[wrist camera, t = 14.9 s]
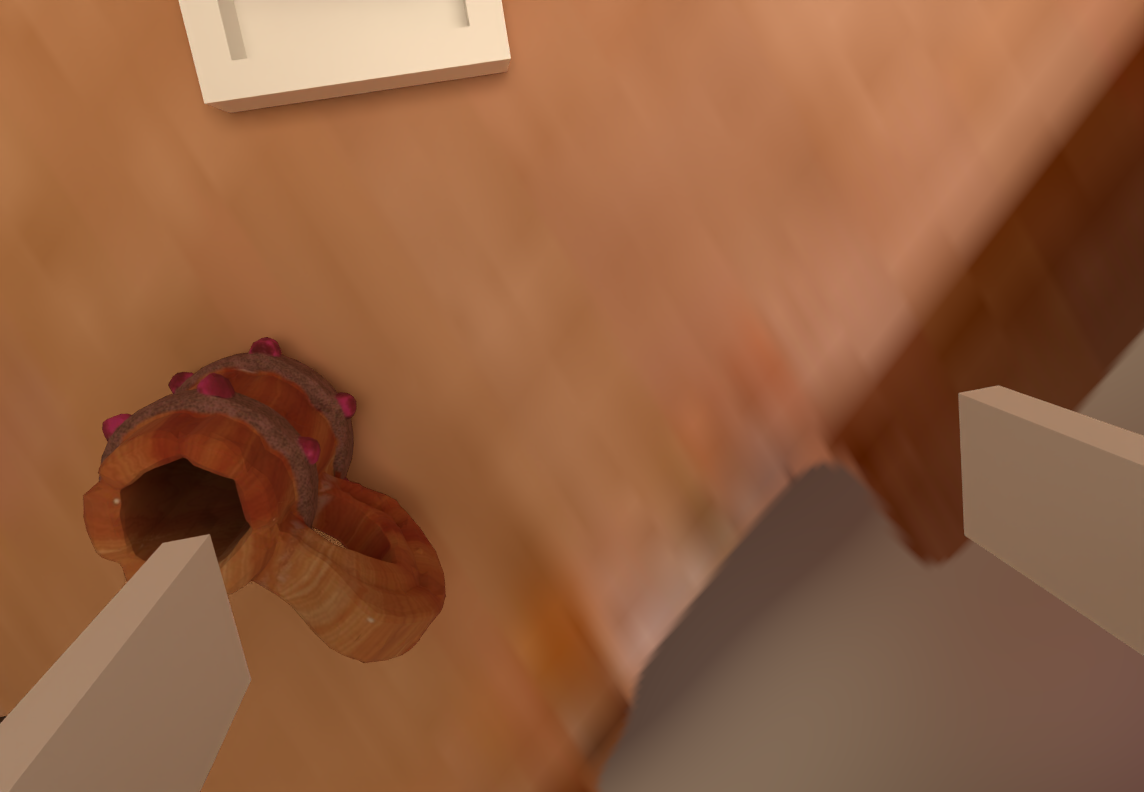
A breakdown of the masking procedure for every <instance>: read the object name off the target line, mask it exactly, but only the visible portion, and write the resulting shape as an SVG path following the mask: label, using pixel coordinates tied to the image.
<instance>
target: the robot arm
mask: <svg viewBox="0 0 1144 792" xmlns="http://www.w3.org/2000/svg"><path fill="white" fill-rule="evenodd" d="M959 417H960V441H961V465H962V489H963V513H964V535H965V536H967V537H968V538H969V539H971V540H972V541H974V542H975V543H977V544H978V545H980V546H981V547H983V548H984V549H986V550H987V551H989V552H990V553H992V554H993V555H995V556H996V557H998V558H999V559H1001V560H1002V561H1004V562H1005V563H1007V564H1008V565H1010V566H1011V567H1012V568H1014V569H1016V570H1017V571H1018V572H1020V573H1021V574H1023V575H1024V576H1026V577H1027V578H1029V579H1030V580H1032V581H1033V582H1035V583H1036V584H1038V585H1039V586H1041V587H1042V588H1044V589H1045V590H1047V591H1048V592H1050V593H1051V594H1053V595H1054V596H1056V597H1057V598H1058V599H1060V600H1062V601H1063V602H1065V603H1066V604H1067V605H1069V606H1070V607H1072V608H1073V609H1075V610H1076V611H1078V612H1079V613H1081V614H1082V615H1084V616H1085V617H1087V618H1088V619H1090V620H1091V621H1093V622H1094V623H1096V624H1097V625H1099V626H1100V627H1102V628H1103V629H1104V630H1106V631H1108V632H1109V633H1111V634H1112V635H1114V636H1115V637H1116V638H1118V639H1119V640H1121V641H1122V642H1124V643H1125V644H1127V645H1129V646H1130V647H1131V648H1133V649H1134V650H1136V651H1137V652H1139V653H1140V654H1142V655H1143V656H1144V436H1142V435H1140V434H1137V433H1134V432H1131V431H1128V430H1125V429H1122V428H1119V427H1117V426H1113V425H1111V424H1108V423H1105V422H1102V421H1099V420H1096V419H1094V418H1091V417H1088V416H1085V415H1082V414H1079V413H1076V412H1073V411H1071V410H1068V409H1065V408H1062V407H1059V406H1056V405H1053V404H1050V403H1048V402H1045V401H1042V400H1039V399H1036V398H1033V397H1030V396H1027V395H1025V394H1022V393H1019V392H1016V391H1013V390H1010V389H1007V388H1004V387H1002V386H994V387H989V388H983V389H978V390H973V391H967V392H962V393H959ZM250 681H251V677H250V673H249V670H248V666H247V663H246V659H245V656H244V652H243V649H242V645H241V642H240V638H239V635H238V631H237V628H236V624H235V621H234V617H233V614H232V610H231V607H230V603H229V600H228V596H227V593H226V589H225V585H224V582H223V578H222V575H221V571H220V568H219V564H218V561H217V557H216V554H215V550H214V547H213V543H212V540H211V536H210V534H208V535H202V536H197V537H192V538H187V539H181V540H176V541H171V542H165V543H162V544H161V545H160V547H159V548H158V549H157V550H156V551H155V552H154V553H153V554H152V555H151V557H150V558H149V559H148V560H147V561H146V562H145V563H144V564H143V565H142V567H141V568H140V569H139V570H138V571H137V572H136V573H135V574H134V575H133V577H132V578H131V579H130V580H129V581H128V582H127V583H126V584H125V585H124V587H123V588H122V589H121V590H120V591H119V592H118V593H117V594H116V595H115V597H114V598H113V599H112V600H111V601H110V602H109V603H108V604H107V605H106V607H105V608H104V609H103V610H102V611H101V612H100V613H99V614H98V615H97V617H96V618H95V619H94V620H93V621H92V622H91V623H90V624H89V625H88V627H87V628H86V629H85V630H84V631H83V632H82V633H81V634H80V635H79V637H78V638H77V639H76V640H75V641H74V642H73V643H72V644H71V645H70V647H69V648H68V649H67V650H66V651H65V652H64V653H63V654H62V655H61V657H60V658H59V659H58V660H57V661H56V662H55V663H54V664H53V665H52V667H51V668H50V669H49V670H48V671H47V672H46V673H45V674H44V675H43V677H42V678H41V679H40V680H39V681H38V682H37V683H36V684H35V685H34V687H33V688H32V689H31V690H30V691H29V692H28V693H27V694H26V696H25V697H24V698H23V699H22V700H21V701H20V702H19V703H18V704H17V706H16V707H15V708H14V709H13V710H12V711H11V712H10V713H9V714H8V716H3V717H0V792H200V791H201V789H202V787H203V784H204V782H205V780H206V778H207V776H208V773H209V771H210V769H211V767H212V765H213V762H214V760H215V758H216V756H217V754H218V752H219V749H220V747H221V745H222V743H223V741H224V738H225V736H226V734H227V732H228V730H229V727H230V725H231V723H232V721H233V719H234V716H235V714H236V712H237V710H238V708H239V706H240V703H241V701H242V699H243V697H244V695H245V692H246V690H247V688H248V686H249V684H250Z"/></svg>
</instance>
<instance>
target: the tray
mask: <svg viewBox="0 0 1144 792" xmlns="http://www.w3.org/2000/svg"><path fill="white" fill-rule="evenodd" d="M179 4H180V8H181V12H182V16H183V20H184V24H185V28H186V32H187V36H188V40H189V44H190V48H191V52H192V56H193V60H194V64H195V68H196V72H197V76H198V80H199V84H200V88H201V92H202V95H203V99H204V103H205V104H207V105H210V106H212V107H215V108H218V109H220V110H223V111H226V112H229V113H233V112H240V111H247V110H254V109H260V108H267V107H274V106H280V105H287V104H294V103H301V102H307V101H314V100H321V99H328V98H334V97H341V96H348V95H354V94H361V93H368V92H375V91H381V90H388V89H395V88H402V87H408V86H415V85H422V84H428V83H435V82H442V81H449V80H455V79H462V78H469V77H476V76H482V75H489V74H496V73H502V72H507V70H508V67H509V63H510V60H511V56H510V50H509V44H508V38H507V32H506V26H505V19H504V13H503V7H502V1H501V0H179Z"/></svg>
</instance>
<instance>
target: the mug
mask: <svg viewBox="0 0 1144 792" xmlns="http://www.w3.org/2000/svg"><path fill="white" fill-rule="evenodd" d="M281 353H282V352H281V349H280V347H279V345H278V342H277V341H275V340H274V339H271V338H268V337H266V338H261V339H259V340H258V341H256V342H254V343H253V344H252V346H251V349H250V351H249V353H242V354H236V355H233V356H229V357H226V358H223V359H220V360H218V361H216V362H213V363H211V364H209V365H207V366H205V367H203V368H201V369H200V370H199V371H197V372H196V373H195V374H193V373H189V372H181V373H177V374H175V375H174V376H173V377H172V379H171V381H170V383H169V387H170V389H171V391H172V393H173V394H171V395H168V396H165V397H163V398H161V399H159V400H157V401H156V402H154V403H152V404H150V405H148V406H146V407H144V408H142V409H140V410H138V411H137V412H136V413H134V414H133V415H130V414H120V415H117V416H114V417H112V418H109V419H107V420H106V421H104V422H103V427H102V430H103V433H104V435H105V438H106V439H107V441H108V443H107V446H106V448H105V451H104V453H103V455H102V459H101V466H100V468H99V471H98V473H99V482H98V483H97V484H96V485H94V486H93V487H92V488H91V489H90V490H89V491H88V492H87V493H85V494H84V495H83V500H84V521H85V525H86V529H87V532H88V535H89V537H90V539H91V542H92V544H93V546H94V549H95V551H96V552H97V553H98V554H99V555H100V556H101V557H102V558H105V559H108V560H111V561H114V562H117V563H119V564H120V565H121V566H122V568H123V571H124V574H125V578H126V581H127V582H128V581H129V580H130V579H131V578H132V577H133V575H134V574H135V573H136V572H137V571H138V570H139V569H140V568H141V567H142V565H143V564H144V563H145V562H146V561H147V560H148V559H149V558H150V557H151V555H152V554H153V553H154V552H155V551H156V550H157V549H158V548H159V547H160V545H161V544H162V543H165V542H171V541H176V540H181V539H187V538H192V537H197V536H202V535H208V534H210V536H211V540H212V543H213V547H214V550H215V554H216V557H217V561H218V564H219V568H220V571H221V575H222V578H223V582H224V585H225V589H226V593H227V594H232V593H234V592H236V591H237V590H239V589H240V588H242V587H244V586H245V585H247V584H248V583H249V582H250V581H254V582H256V583H258V584H259V585H261V586H263V587H264V588H266V589H268V590H269V591H271V592H273V593H274V594H276V595H278V596H279V597H280V598H282V599H283V600H284V601H285V602H287V603H288V604H289V605H291V606H292V607H293V608H294V610H295V611H296V612H297V613H298V614H299V615H300V617H301V618H302V619H303V620H304V621H305V622H306V624H307V625H308V626H309V627H310V628H311V629H312V631H313V632H314V633H315V634H316V635H317V636H318V637H319V638H320V639H321V640H322V641H323V642H324V643H325V644H326V645H328V646H329V647H330V648H331V649H333V650H335V651H336V652H338V653H340V654H342V655H344V656H347V657H350V658H352V659H356V660H359V661H361V662H363V663H368V662H376V661H383V660H388V659H391V658H394V657H397V656H400V655H403V654H404V653H406V652H407V651H409V650H410V649H411V648H412V647H413V646H415V645H416V643H417V642H418V641H419V640H420V638H421V636H422V635H423V633H424V632H425V631H426V629H427V628H428V627H429V625H430V624H431V623H432V621H433V620H434V619H435V618H436V617H437V615H438V614H439V613H440V612H441V610H442V608H443V604H444V600H445V597H446V594H445V580H444V573H443V570H442V567H441V564H440V562H439V559H438V556H437V553H436V551H435V550H434V548H433V547H432V545H431V544H430V542H429V541H428V539H427V538H426V536H425V535H424V533H423V532H422V530H421V529H420V527H419V526H418V525H417V524H416V523H415V521H414V520H413V519H412V518H411V517H410V516H409V514H408V513H407V512H406V511H405V510H404V509H403V508H402V507H401V506H400V505H399V504H398V502H397V500H395V499H393V498H391V497H389V496H387V495H385V494H382V493H379V492H376V491H374V490H371V489H368V488H366V487H363V486H361V485H360V484H359V483H354V482H350V481H349V480H348V479H347V478H346V475H347V472H348V468H349V465H350V462H351V459H352V454H353V428H352V423H351V417H352V416H353V415H354V414H355V411H356V400H355V399H354V397H353V396H352V395H350V394H348V393H342V392H340V393H337V392H336V390H335V389H334V388H333V387H332V385H331V384H330V383H329V382H328V381H327V380H325V379H324V378H323V377H322V376H320V375H319V374H318V373H317V372H315V371H314V370H313V369H311V368H309V367H308V366H306V365H304V364H302V363H301V362H299V361H297V360H295V359H292V358H289V357H286V356H284V355H282V354H281ZM312 527H313V528H316V529H318V530H320V531H322V532H324V533H326V534H328V535H330V536H332V537H333V538H335V539H337V540H339V541H340V542H341V543H342V544H343V545H344V546H345V548H346V549H345V548H342V547H339V546H337V545H335V544H332V543H331V542H329V541H328V540H326V539H325V538H323V537H322V536H320V535H319V534H317V533H316V532H314V530H313V528H312Z"/></svg>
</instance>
